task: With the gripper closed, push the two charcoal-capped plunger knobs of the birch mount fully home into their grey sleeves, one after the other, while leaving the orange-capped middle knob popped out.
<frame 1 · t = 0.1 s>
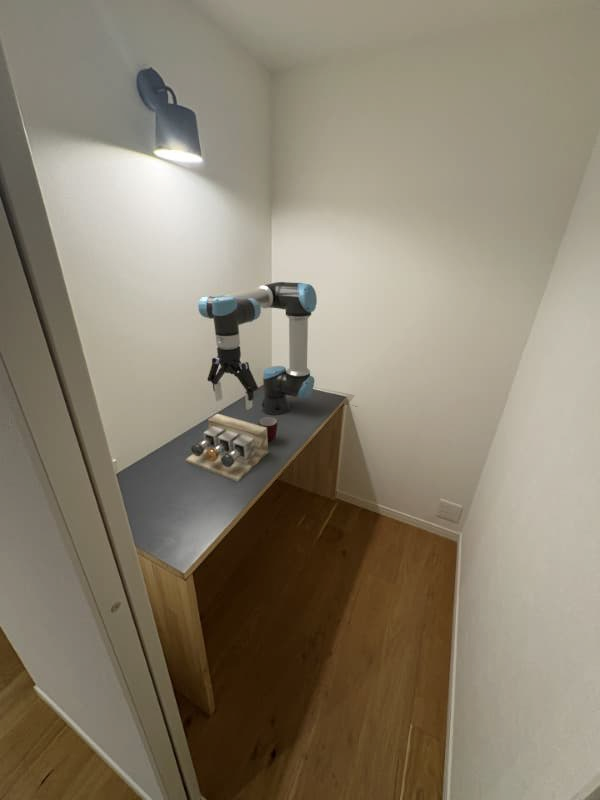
hand: (234, 403, 113), 28 cm above the table, fingers open, 13 cm apart
knob 2: (233, 455, 121), point 6 cm above the table, slide at 5.0 cm
knob middle: (218, 450, 124), point 6 cm above the table, slide at 5.0 cm
knob 1: (203, 445, 127), point 6 cm above the table, slide at 5.0 cm
mount: (231, 453, 133), on the table
mug: (267, 442, 141), on the table
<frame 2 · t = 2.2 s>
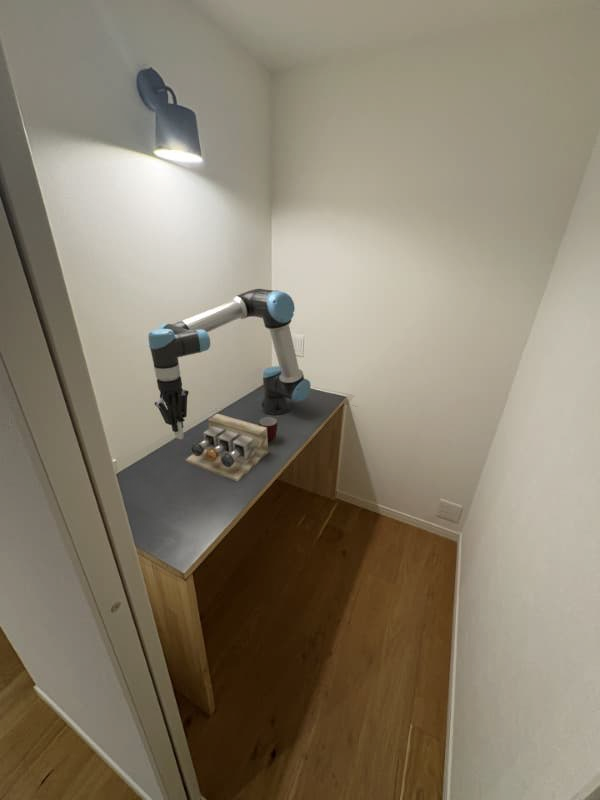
hand: (179, 437, 114), 16 cm above the table, fingers closed
nothing on the table moved.
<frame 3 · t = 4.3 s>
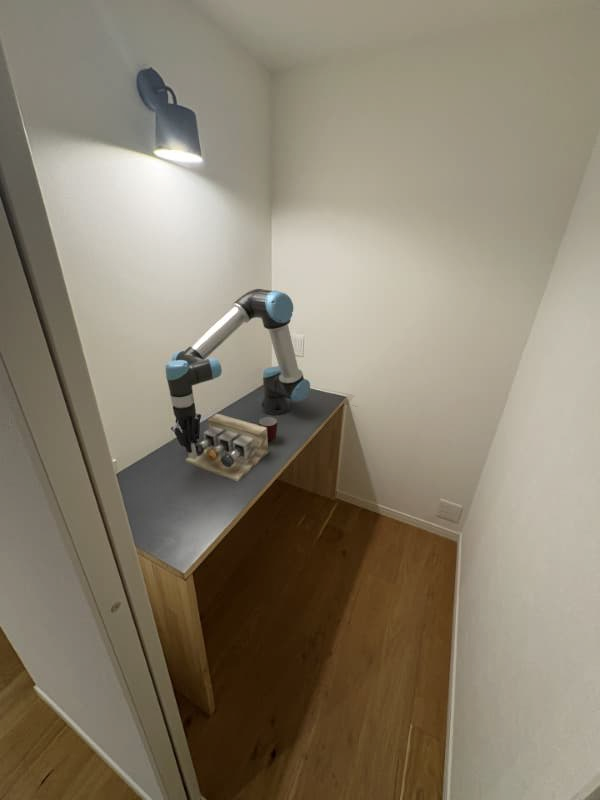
hand: (193, 457, 122), 5 cm above the table, fingers closed
knob 1: (203, 445, 127), point 6 cm above the table, slide at 4.9 cm, touching gripper
everything else where it was.
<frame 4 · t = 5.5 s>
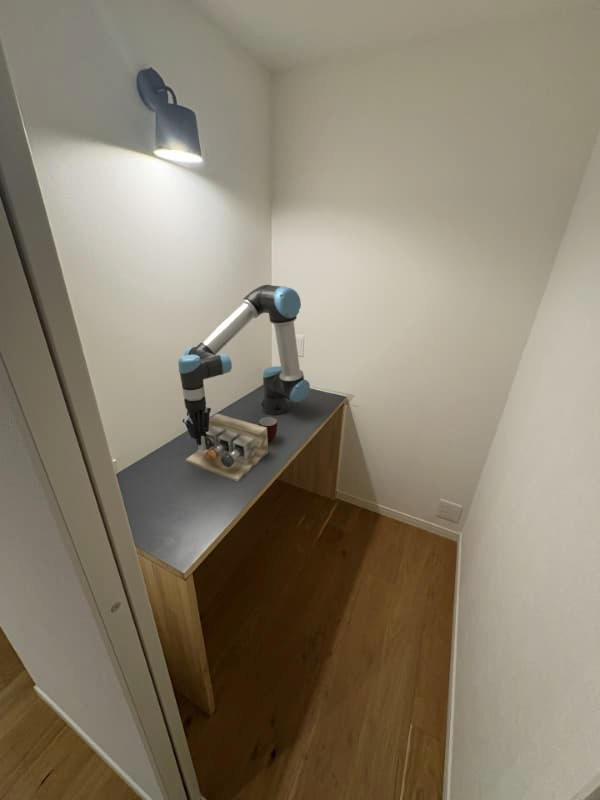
hand: (202, 449, 126), 5 cm above the table, fingers closed
knob 1: (212, 439, 131), point 6 cm above the table, slide at -0.2 cm, touching gripper
everything else where it was.
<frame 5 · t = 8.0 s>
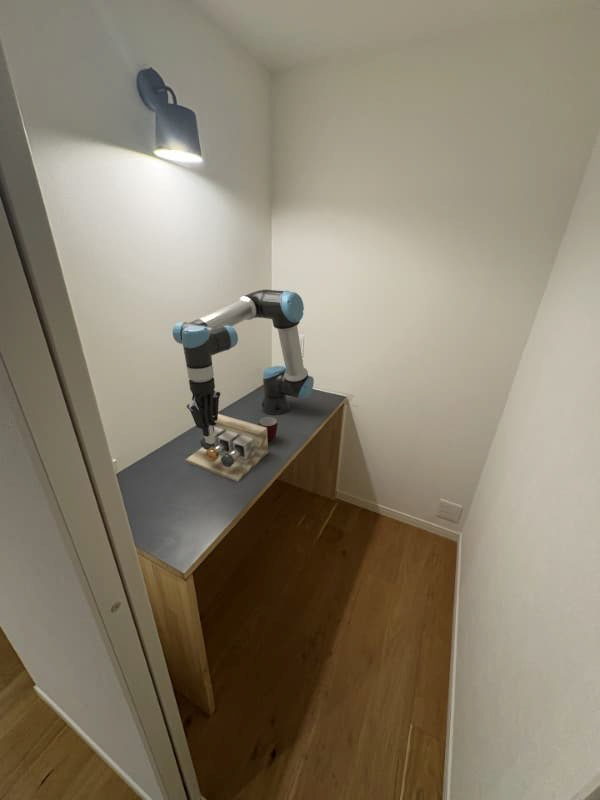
hand: (210, 442, 107), 19 cm above the table, fingers closed
knob 1: (212, 439, 131), point 6 cm above the table, slide at -0.1 cm
everything else where it was.
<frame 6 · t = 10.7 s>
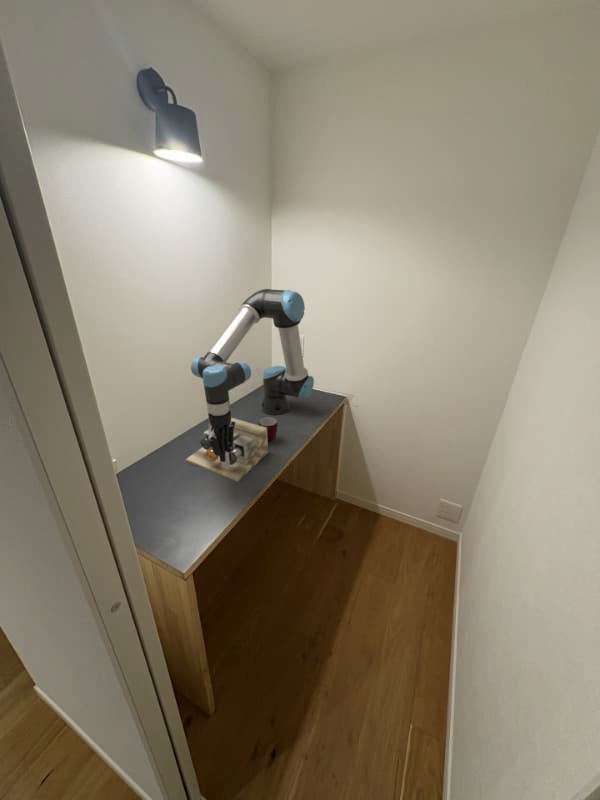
hand: (225, 466, 118), 5 cm above the table, fingers closed
knob 2: (236, 453, 122), point 6 cm above the table, slide at 3.3 cm, touching gripper
everything else where it was.
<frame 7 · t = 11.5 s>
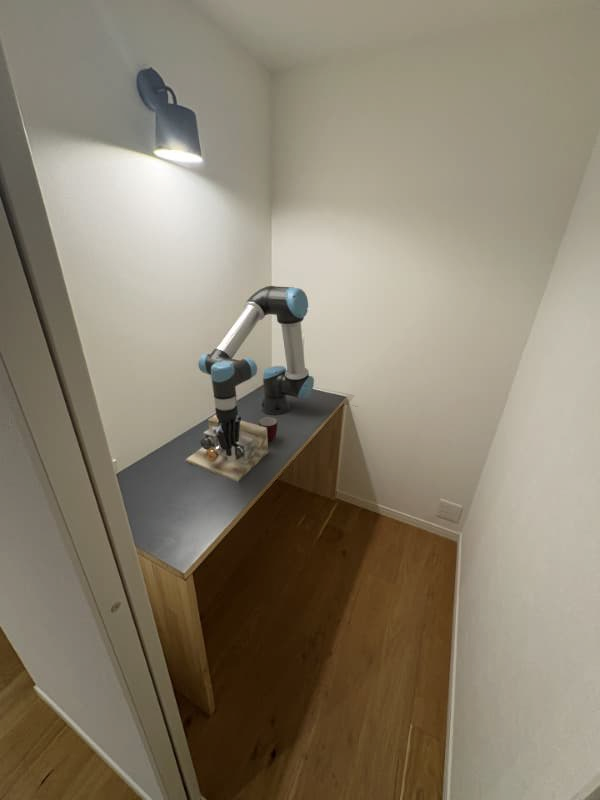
hand: (231, 460, 120), 5 cm above the table, fingers closed
knob 2: (241, 448, 125), point 7 cm above the table, slide at -0.1 cm, touching gripper
everything else where it was.
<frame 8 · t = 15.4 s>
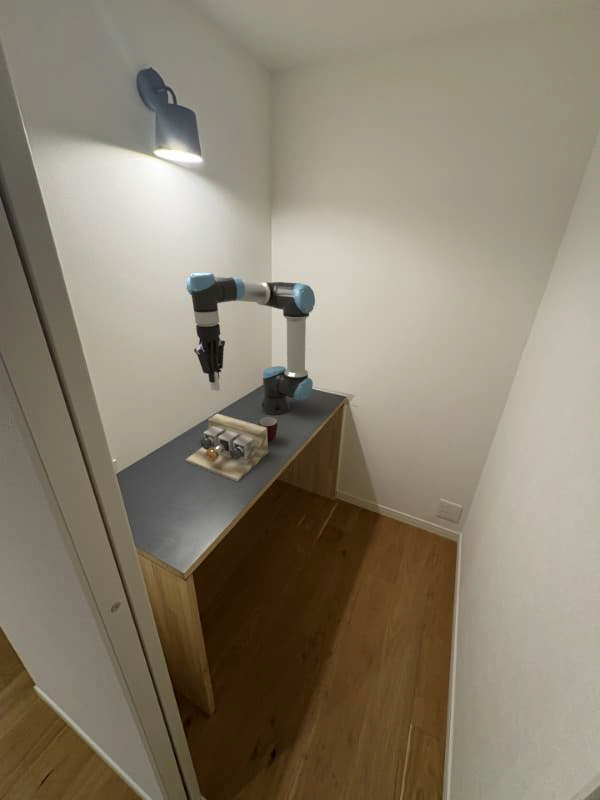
hand: (215, 389, 113), 32 cm above the table, fingers closed
knob 2: (241, 449, 125), point 6 cm above the table, slide at -0.1 cm
everything else where it was.
at the end: knob 1 slide at -0.1 cm; knob 2 slide at -0.1 cm; knob middle slide at 5.0 cm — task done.
